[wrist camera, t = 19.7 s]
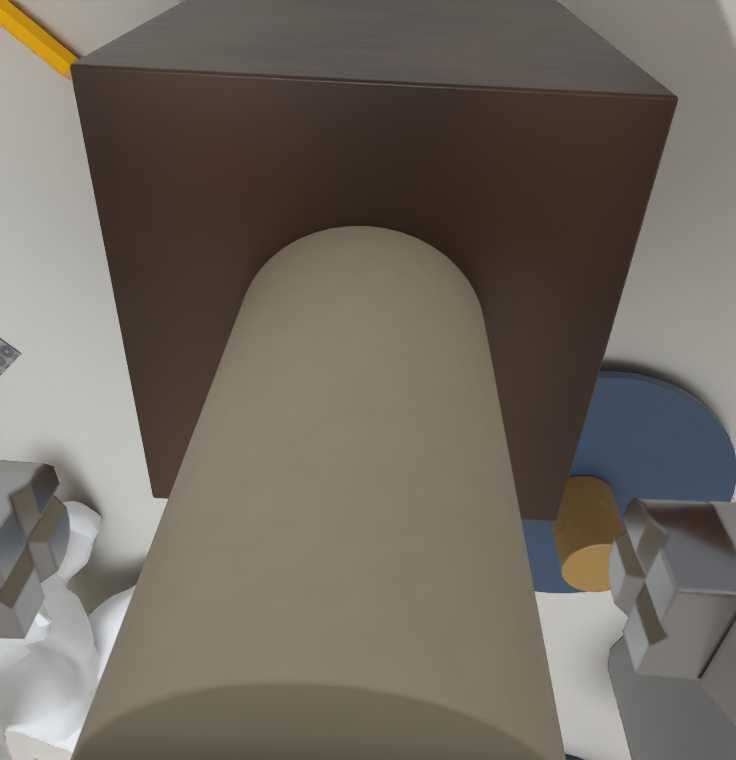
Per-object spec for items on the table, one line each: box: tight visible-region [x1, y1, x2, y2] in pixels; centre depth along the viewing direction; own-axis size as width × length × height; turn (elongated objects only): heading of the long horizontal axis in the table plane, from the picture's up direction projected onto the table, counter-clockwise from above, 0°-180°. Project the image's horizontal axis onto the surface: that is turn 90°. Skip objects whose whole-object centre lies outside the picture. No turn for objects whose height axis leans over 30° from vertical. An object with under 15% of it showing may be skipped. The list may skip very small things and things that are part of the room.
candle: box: [71, 226, 566, 760], centre depth 11 cm, size 5×5×9 cm
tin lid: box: [521, 371, 736, 593], centre depth 31 cm, size 14×14×5 cm
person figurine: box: [0, 501, 136, 760], centre depth 35 cm, size 13×13×18 cm
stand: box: [70, 0, 678, 521], centre depth 19 cm, size 10×10×12 cm
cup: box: [608, 636, 736, 760], centre depth 36 cm, size 8×8×10 cm
